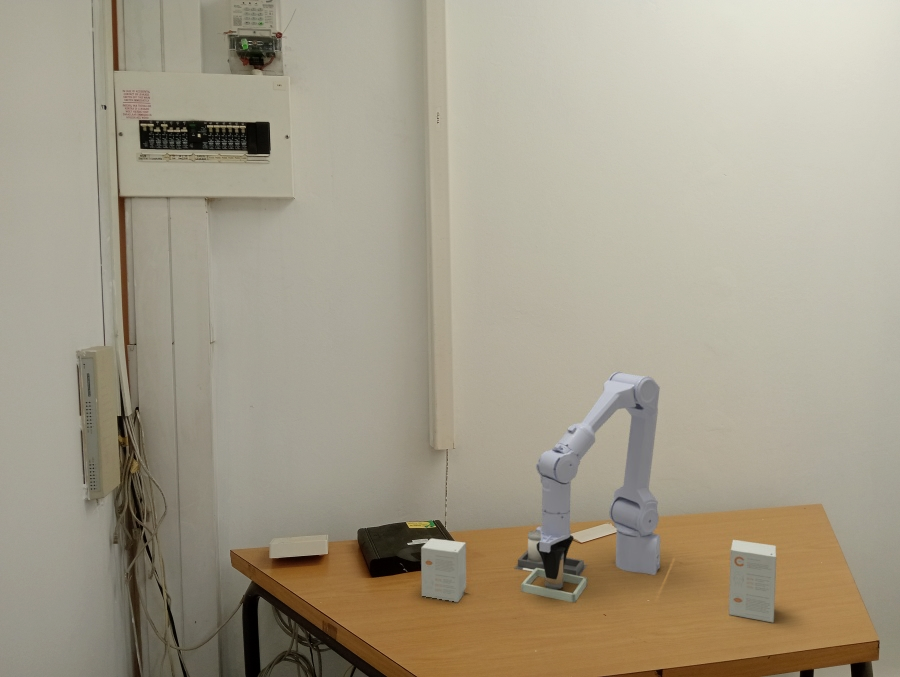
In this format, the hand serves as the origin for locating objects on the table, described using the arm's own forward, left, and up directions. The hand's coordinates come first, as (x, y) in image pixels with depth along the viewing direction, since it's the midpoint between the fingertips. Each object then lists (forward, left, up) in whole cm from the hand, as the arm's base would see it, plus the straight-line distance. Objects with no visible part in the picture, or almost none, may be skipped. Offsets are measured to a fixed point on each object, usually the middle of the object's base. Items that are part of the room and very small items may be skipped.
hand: (554, 574), depth 145 cm
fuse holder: (+4, -10, -4) cm, 11 cm away
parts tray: (0, 0, -4) cm, 4 cm away
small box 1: (+20, +11, -4) cm, 23 cm away
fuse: (+8, -10, -3) cm, 13 cm away
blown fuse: (0, 0, -2) cm, 2 cm away
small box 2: (-37, -9, -4) cm, 38 cm away
